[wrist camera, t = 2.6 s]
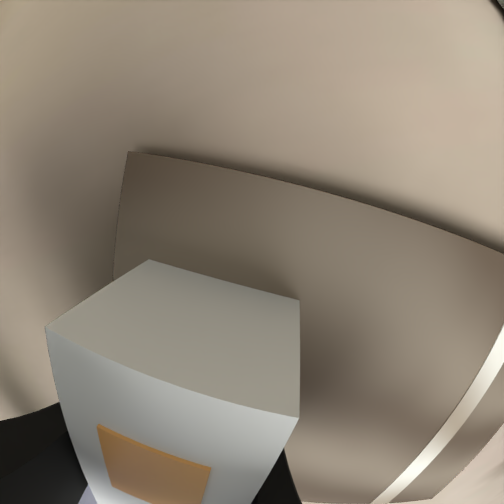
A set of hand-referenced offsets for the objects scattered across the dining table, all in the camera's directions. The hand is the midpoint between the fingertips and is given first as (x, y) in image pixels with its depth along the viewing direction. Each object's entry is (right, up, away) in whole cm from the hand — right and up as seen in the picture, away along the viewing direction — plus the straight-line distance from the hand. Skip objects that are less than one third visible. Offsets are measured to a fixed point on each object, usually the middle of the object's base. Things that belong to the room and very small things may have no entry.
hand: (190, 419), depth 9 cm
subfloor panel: (+6, 0, +1) cm, 6 cm away
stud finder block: (0, 0, +1) cm, 1 cm away
